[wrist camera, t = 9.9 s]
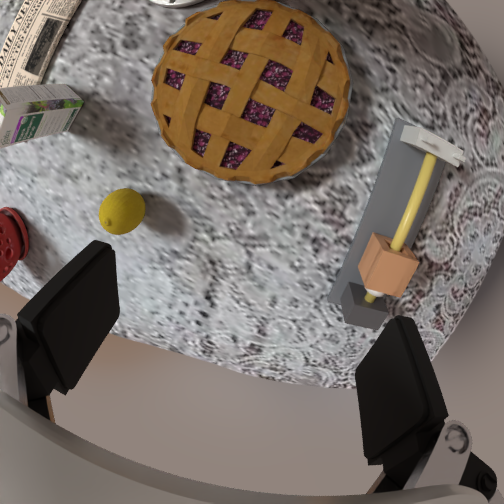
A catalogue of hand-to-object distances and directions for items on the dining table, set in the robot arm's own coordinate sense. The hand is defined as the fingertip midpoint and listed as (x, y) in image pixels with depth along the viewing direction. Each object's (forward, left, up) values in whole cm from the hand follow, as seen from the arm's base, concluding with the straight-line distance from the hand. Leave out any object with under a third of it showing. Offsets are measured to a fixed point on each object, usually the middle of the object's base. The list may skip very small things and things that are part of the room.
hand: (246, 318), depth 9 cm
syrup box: (-3, -33, -27) cm, 42 cm away
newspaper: (-18, -46, -27) cm, 56 cm away
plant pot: (+22, -49, -27) cm, 60 cm away
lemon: (+9, -18, -27) cm, 33 cm away
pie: (-8, -6, -27) cm, 29 cm away
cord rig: (+3, +15, -26) cm, 31 cm away
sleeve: (+6, +15, -25) cm, 30 cm away
